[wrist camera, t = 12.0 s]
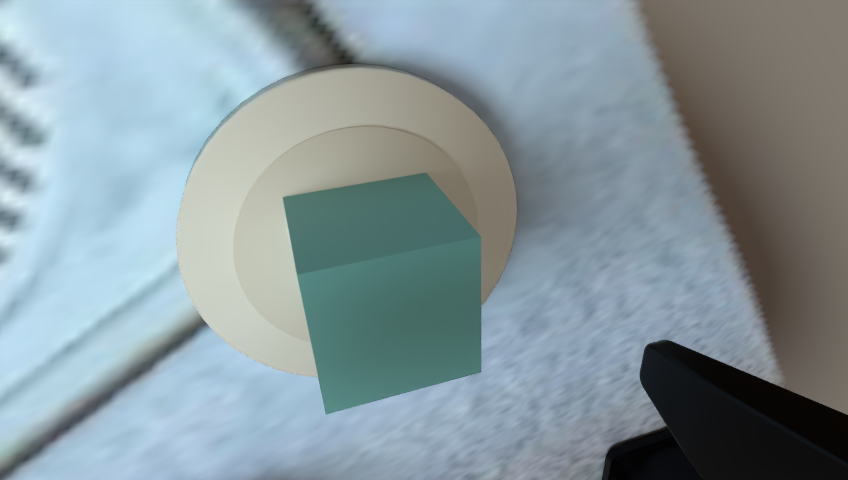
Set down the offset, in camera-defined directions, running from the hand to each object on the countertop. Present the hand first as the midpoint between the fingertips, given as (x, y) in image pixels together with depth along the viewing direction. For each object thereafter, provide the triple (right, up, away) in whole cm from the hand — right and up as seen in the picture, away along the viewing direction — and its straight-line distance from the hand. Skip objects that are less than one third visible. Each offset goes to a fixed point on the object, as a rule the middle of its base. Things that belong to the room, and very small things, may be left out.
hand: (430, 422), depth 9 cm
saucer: (-2, +4, +7) cm, 8 cm away
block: (-2, +3, +6) cm, 7 cm away
